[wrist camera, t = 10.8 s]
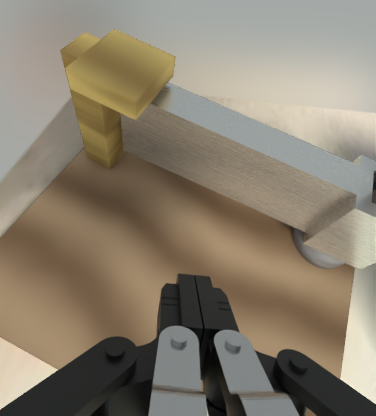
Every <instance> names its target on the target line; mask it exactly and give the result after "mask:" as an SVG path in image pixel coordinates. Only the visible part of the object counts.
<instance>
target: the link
mask: <svg viewBox="0 0 376 416" xmlns="http://www.w3.org/2000/svg"><path fill="white" fill-rule="evenodd" d="M121 126H122V141H123V150H124V151H127V152H129V153H131V154H133V155H135V156H138V157H140V158H142V159H144V160H146V161H149V162H151V163H153V164H155V165H158V166H160V167H162V168H164V169H166V170H169V171H171V172H173V173H175V174H177V175H180V176H182V177H184V178H186V179H188V180H191V181H193V182H195V183H197V184H199V185H202V186H204V187H206V188H208V189H211V190H213V191H215V192H217V193H219V194H222V195H224V196H226V197H228V198H230V199H233V200H235V201H237V202H239V203H241V204H244V205H246V206H248V207H250V208H253V209H255V210H257V211H259V212H261V213H264V214H266V215H268V216H270V217H272V218H275V219H277V220H279V221H281V222H283V223H286V224H288V225H290V226H292V227H294V228H297V229H299V230H301V231H303V232H305V234H304V239H303V244H305V245H307V246H309V247H311V248H313V249H315V250H318V251H320V252H322V253H324V254H326V255H329V256H331V257H333V258H335V259H337V260H340V261H342V262H344V263H346V264H348V265H351V266H353V267H355V268H357V269H362V268H364V267H367V266H369V265H372V264H375V263H376V204H374V203H372V191H374V190H375V189H376V161H375V160H373V159H370V158H368V157H366V156H364V155H360V156H358V157H357V158H356V159H355V160H354V161H353V162H350V161H348V160H346V159H344V158H341V157H339V156H337V155H334V154H332V153H330V152H327V151H325V150H323V149H321V148H318V147H316V146H314V145H311V144H309V143H307V142H304V141H302V140H300V139H297V138H295V137H293V136H291V135H288V134H286V133H284V132H281V131H279V130H277V129H274V128H272V127H270V126H268V125H265V124H263V123H261V122H258V121H256V120H254V119H251V118H249V117H247V116H244V115H242V114H240V113H238V112H235V111H233V110H231V109H228V108H226V107H224V106H221V105H219V104H217V103H215V102H212V101H210V100H208V99H205V98H203V97H201V96H198V95H196V94H194V93H191V92H189V91H187V90H185V89H182V88H180V87H178V86H175V85H173V84H171V83H167V84H166V85H165V86H164V87H163V89H162V90H161V91H160V92H159V93H158V95H157V96H156V97H155V98H154V99H153V100H152V102H151V103H150V104H149V105H148V106H147V108H146V109H145V110H144V111H143V112H142V113H141V115H140V116H139V117H138V118H137V119H136V120H134V119H132V118H130V117H128V116H126V115H124V114H122V113H121Z"/></svg>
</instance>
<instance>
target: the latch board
mask: <svg viewBox="0 0 376 416" xmlns="http://www.w3.org/2000/svg"><path fill="white" fill-rule="evenodd" d="M61 55H62V59H63V63H64V67H65V71H66V75H67V79H68V83H69V86H70V91H71V95H72V99H73V103H74V107H75V111H76V115H77V119H78V123H79V127H80V131H81V135H82V139H83V143H84V148H83V149H82V151H81V152H80V153H79V154H78V155H77V156H76V157H75V158H74V159H73V160H72V161H71V162H70V164H69V165H68V166H67V167H66V168H65V169H64V170H63V171H62V172H61V173H60V174H59V175H58V177H57V178H56V179H55V180H54V181H53V182H52V183H51V184H50V185H49V186H48V187H47V188H46V190H45V191H44V192H43V193H42V194H41V195H40V196H39V197H38V198H37V199H36V200H35V201H34V202H33V204H32V205H31V206H30V207H29V208H28V209H27V210H26V211H25V212H24V213H23V214H22V215H21V217H20V218H19V219H18V220H17V221H16V222H15V223H14V224H13V225H12V226H11V227H10V228H9V230H8V231H7V232H6V233H5V234H4V235H3V236H2V237H1V238H0V337H1V338H3V339H5V340H6V341H8V342H10V343H12V344H13V345H15V346H17V347H19V348H21V349H22V350H24V351H26V352H28V353H29V354H31V355H33V356H35V357H37V358H38V359H40V360H42V361H44V362H45V363H47V364H49V365H51V366H53V367H54V368H56V369H58V370H59V369H61V368H62V367H64V366H65V365H67V364H68V363H69V362H71V361H72V360H74V359H75V358H77V357H78V356H80V355H81V354H83V353H84V352H86V351H87V350H89V349H90V348H91V347H93V346H94V345H96V344H97V343H99V342H100V341H102V340H104V339H106V338H109V337H114V336H120V337H125V338H128V339H129V340H131V341H132V342H133V343H134V344H135V345H136V346H141V345H145V344H148V343H150V342H152V341H153V340H154V339H155V338H156V334H157V316H158V309H159V302H160V295H161V289H162V288H163V286H164V285H165V284H166V283H171V284H176V280H177V275H178V273H181V274H191V275H202V276H210V278H211V282H212V286H213V287H214V288H220V289H221V290H222V291H223V292H224V293H225V294H226V295H227V297H228V300H229V304H230V306H231V309H232V312H233V315H234V317H235V320H236V323H237V326H238V329H239V332H240V333H241V334H243V335H244V336H245V337H247V338H248V339H249V341H250V342H251V344H252V346H253V348H254V350H256V351H258V352H260V353H263V354H266V355H269V356H272V357H275V358H276V357H277V354H278V353H279V351H281V350H283V349H292V350H296V351H299V352H301V353H303V354H305V355H306V356H308V357H309V358H310V359H312V360H313V361H315V362H316V363H318V364H319V365H320V366H322V367H323V368H325V369H326V370H327V371H329V372H330V373H332V374H333V375H335V376H336V377H337V378H339V379H340V376H341V368H342V360H343V353H344V345H345V338H346V330H347V322H348V315H349V307H350V299H351V292H352V284H353V277H354V269H355V267H353V266H351V265H348V264H346V263H344V262H342V261H340V260H337V259H335V258H333V257H331V256H329V255H326V254H324V253H322V252H320V251H318V250H315V249H313V248H311V247H309V246H307V245H305V244H303V239H304V234H305V232H303V231H301V230H299V229H297V228H294V227H292V226H290V225H288V224H286V223H283V222H281V221H279V220H277V219H275V218H272V217H270V216H268V215H266V214H264V213H261V212H259V211H257V210H255V209H253V208H250V207H248V206H246V205H244V204H241V203H239V202H237V201H235V200H233V199H230V198H228V197H226V196H224V195H222V194H219V193H217V192H215V191H213V190H211V189H208V188H206V187H204V186H202V185H199V184H197V183H195V182H193V181H191V180H188V179H186V178H184V177H182V176H180V175H177V174H175V173H173V172H171V171H169V170H166V169H164V168H162V167H160V166H158V165H155V164H153V163H151V162H149V161H146V160H144V159H142V158H140V157H138V156H135V155H133V154H131V153H129V152H127V151H124V150H123V141H122V126H121V113H122V114H124V115H126V116H128V117H130V118H132V119H134V120H136V119H137V118H138V117H139V116H140V115H141V113H142V112H143V111H144V110H145V109H146V108H147V106H148V105H149V104H150V103H151V102H152V100H153V99H154V98H155V97H156V96H157V95H158V93H159V92H160V91H161V90H162V89H163V87H164V86H165V85H166V84H167V83H168V82H169V80H170V79H171V78H172V77H173V73H174V65H175V56H173V55H171V54H168V53H166V52H164V51H162V50H159V49H157V48H155V47H153V46H151V45H148V44H146V43H144V42H142V41H140V40H137V39H135V38H133V37H131V36H129V35H127V34H124V33H122V32H120V31H118V30H115V29H114V30H112V31H111V32H110V33H108V34H107V35H106V36H105V37H103V38H102V39H99V38H97V37H95V36H92V35H90V34H88V33H86V32H85V33H83V34H82V35H81V36H79V37H78V38H76V39H75V40H74V41H72V42H71V43H70V44H68V45H67V46H66V47H64V48H63V49H62V50H61ZM372 203H374V204H376V189H375V190H374V191H372ZM202 391H203V381H202V380H201V392H202ZM306 416H317V415H315V414H314V413H313V412H312V411H311V410H310V409H308V411H307V413H306Z"/></svg>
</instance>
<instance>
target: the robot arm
mask: <svg viewBox="0 0 376 416" xmlns="http://www.w3.org/2000/svg"><path fill="white" fill-rule="evenodd" d="M201 380H202V381H203V391H202V392H201ZM308 409H310V410H311V411H312V412H313V413H314V414H315V415H317V416H376V404H374V403H373V402H371V401H370V400H369V399H367V398H366V397H364V396H363V395H361V394H360V393H359V392H357V391H356V390H354V389H353V388H352V387H350V386H349V385H347V384H346V383H344V382H343V381H342V380H340V379H339V378H337V377H336V376H335V375H333V374H332V373H330V372H329V371H327V370H326V369H325V368H323V367H322V366H320V365H319V364H318V363H316V362H315V361H313V360H312V359H310V358H309V357H308V356H306V355H305V354H303V353H301V352H299V351H296V350H292V349H283V350H281V351H279V353H278V354H277V357H276V358H275V357H272V356H269V355H266V354H263V353H260V352H258V351H256V350H254V348H253V346H252V344H251V342H250V341H249V339H248V338H247V337H245V336H244V335H243V334H241V333H240V332H239V329H238V326H237V323H236V320H235V317H234V315H233V312H232V309H231V306H230V304H229V300H228V297H227V295H226V294H225V293H224V292H223V291H222V290H221V289H220V288H214V287H213V286H212V282H211V278H210V276H202V275H191V274H181V273H178V275H177V280H176V284H171V283H166V284H165V285H164V286H163V288H162V289H161V295H160V302H159V309H158V316H157V334H156V338H155V339H154V340H153V341H152V342H150V343H148V344H145V345H141V346H136V345H135V344H134V343H133V342H132V341H131V340H129V339H128V338H125V337H120V336H114V337H109V338H106V339H104V340H102V341H100V342H99V343H97V344H96V345H94V346H93V347H91V348H90V349H89V350H87V351H86V352H84V353H83V354H81V355H80V356H78V357H77V358H75V359H74V360H72V361H71V362H69V363H68V364H67V365H65V366H64V367H62V368H61V369H59V370H58V371H56V372H55V373H53V374H52V375H50V376H49V377H48V378H46V379H45V380H43V381H42V382H40V383H39V384H37V385H36V386H34V387H33V388H31V389H30V390H28V391H27V392H26V393H24V394H23V395H21V396H20V397H18V398H17V399H15V400H14V401H12V402H11V403H9V404H8V405H7V406H5V407H4V408H2V409H1V410H0V416H306V413H307V411H308Z"/></svg>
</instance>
